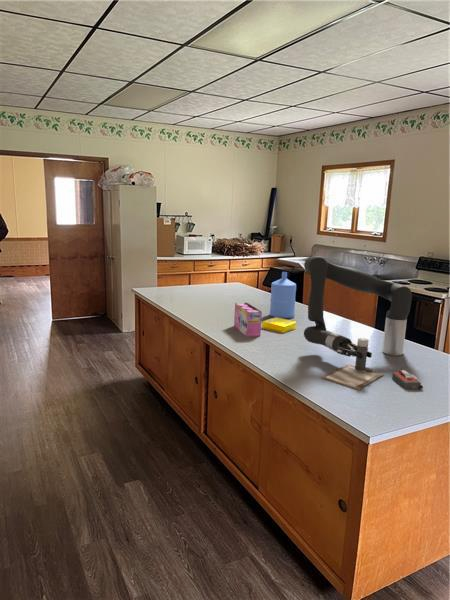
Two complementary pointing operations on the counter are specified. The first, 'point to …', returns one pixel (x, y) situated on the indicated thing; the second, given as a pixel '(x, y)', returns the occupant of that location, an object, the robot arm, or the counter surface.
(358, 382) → the clipboard
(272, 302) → the water jug
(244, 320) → the pink multipack package
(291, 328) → the element tile
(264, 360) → the counter surface
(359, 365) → the bottle
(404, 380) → the walkie-talkie
